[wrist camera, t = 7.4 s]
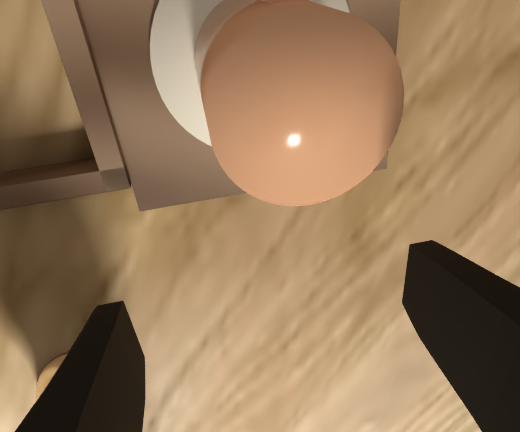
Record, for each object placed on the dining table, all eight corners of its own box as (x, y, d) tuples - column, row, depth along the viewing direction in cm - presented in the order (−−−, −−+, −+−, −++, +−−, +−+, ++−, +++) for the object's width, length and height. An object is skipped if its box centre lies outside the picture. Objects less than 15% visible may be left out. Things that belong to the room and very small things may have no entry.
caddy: (-264, -91, 12) (-313, -97, 11) (399, -150, 14) (421, -160, 13) (-58, 234, 19) (-74, 254, 18) (378, 160, 21) (391, 172, 20)
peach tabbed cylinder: (203, 129, 17) (220, 218, 11) (174, -76, 13) (177, -103, 7) (319, 115, 18) (391, 192, 12) (323, -86, 14) (432, -117, 8)
